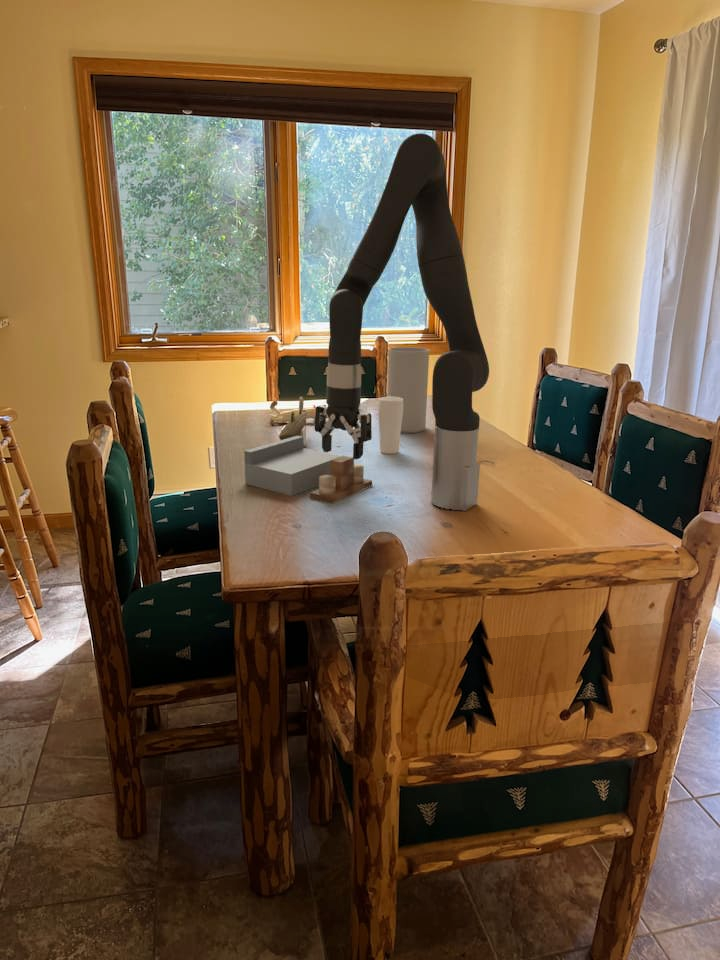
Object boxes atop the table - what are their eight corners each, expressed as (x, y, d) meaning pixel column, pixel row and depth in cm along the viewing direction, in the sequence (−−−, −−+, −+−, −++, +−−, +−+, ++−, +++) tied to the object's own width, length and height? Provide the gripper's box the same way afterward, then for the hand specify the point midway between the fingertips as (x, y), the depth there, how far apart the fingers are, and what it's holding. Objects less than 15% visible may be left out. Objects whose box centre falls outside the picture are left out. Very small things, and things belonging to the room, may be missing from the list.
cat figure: (272, 431, 217) (349, 423, 221) (269, 404, 215) (348, 396, 218) (270, 424, 227) (345, 417, 230) (267, 398, 224) (343, 391, 227)
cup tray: (351, 481, 165) (351, 449, 162) (372, 486, 161) (372, 453, 159) (309, 499, 152) (309, 464, 150) (331, 504, 149) (331, 469, 146)
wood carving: (317, 432, 210) (317, 396, 207) (302, 464, 177) (302, 422, 174) (288, 432, 211) (287, 396, 207) (268, 463, 177) (267, 421, 174)
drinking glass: (399, 456, 187) (401, 401, 182) (375, 454, 188) (376, 400, 183) (403, 449, 193) (405, 397, 188) (379, 448, 194) (380, 395, 190)
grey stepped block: (341, 476, 168) (342, 444, 165) (291, 495, 153) (291, 461, 150) (297, 466, 175) (297, 435, 173) (245, 483, 160) (244, 450, 158)
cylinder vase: (432, 432, 214) (436, 351, 207) (395, 434, 210) (398, 352, 202) (414, 423, 225) (418, 346, 218) (379, 426, 221) (382, 347, 213)
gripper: (380, 385, 149) (377, 457, 154) (329, 377, 157) (327, 445, 162) (360, 390, 143) (357, 464, 148) (307, 381, 151) (307, 452, 156)
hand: (341, 454), depth 155 cm, fingers open, 8 cm apart
